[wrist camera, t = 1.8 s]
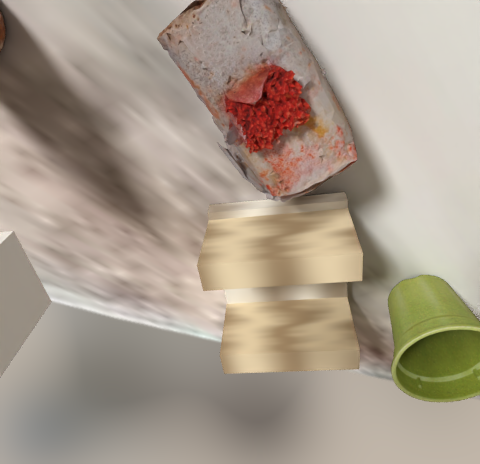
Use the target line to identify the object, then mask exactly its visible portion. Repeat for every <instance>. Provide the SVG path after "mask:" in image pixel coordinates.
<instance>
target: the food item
mask: <svg viewBox="0 0 480 464" xmlns="http://www.w3.org/2000/svg"><path fill="white" fill-rule="evenodd" d="M285 9H286V7H283V5H282V4H281V2H280V0H195V1H194V2H192V3H191V4H190V5H189V6H188V7H187V8H186V9H185V10H184V11H183V12H182V13H181V14H180V15H178V17H177V18H175V19H174V20H173V21H172V22H171V23H170V24H169V25H168V26H167V28H165V29H164V30H163V31H162V32H161V33H160V34H159V36H158V38H157V39H158V41H159V42H160V43H161V45H162V47H163V49H164V50H168V52H169V55H170V57H171V58H172V59H173V61H174V62H175V63H176V65H177V66H178V67H179V68H180V70H181V71H182V73H183V74H184V76H185V77H186V79H187V80H188V81H189V83H190V84H191V86H192V87H193V89H194V90H195V92H196V94H197V96H198V98H199V99H200V100H201V101H202V102H203V103H204V104H205V105H206V107H207V108H208V110H209V111H210V112H211V114H212V115H213V117H212V118H213V120H214V122H215V124H216V125H217V127H218V128H219V129H220V131H221V132H222V133H223V135H224V138H225V142H226V145H227V148H228V149H225V148H223V147H222V146H221V145H220V144H219V143H218V142H217V143H218V145H219V147H220V148H221V150H222V151H223V152H224V153H225V154H226V156H227V157H228V158H229V160H230V161H231V162H232V164H233V165H234V166H235V168H236V169H237V170H238V171H239V173H240V174H241V175H242V177H243V178H245V179H246V180H248V181H249V182H251V183H252V184H253V185H254V186H255V187H256V189H257V190H259V191H261V192H263V193H265V194H266V197H267V199H271V200H273V201H279V200H280V201H281V202H283V203H284V202H285V201H287V200H290V199H292V198H293V197H299V196H302V195H304V194H306V193H309V192H311V191H312V190H314V189H316V188H317V187H319V186H320V185H321V184H322V183H324V182H325V181H326V180H328V179H330V178H331V177H333V176H336V175H338V174H340V173H341V172H343V171H344V170H346V169H347V168H349V167H350V166H351V165H352V164H353V163H354V162H356V161H357V152H356V148H355V144H354V140H353V135H352V130H351V128H350V125H349V123H348V121H347V119H346V117H345V115H344V113H343V111H342V109H341V107H340V105H339V103H338V101H337V99H336V97H335V95H334V93H333V91H332V89H331V87H330V85H329V83H328V81H327V79H326V78H325V75H324V74H326V72H325V69H321V68H320V66H319V64H318V62H317V61H316V59H315V58H314V56H313V54H312V53H311V52H310V50H309V49H308V48H307V47H306V46H305V44H304V42H303V40H302V38H301V36H300V34H299V33H298V31H297V29H296V28H295V26H294V25H293V24H292V22H291V21H290V18H289V17H288V15H287V13H286V11H285Z"/></svg>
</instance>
